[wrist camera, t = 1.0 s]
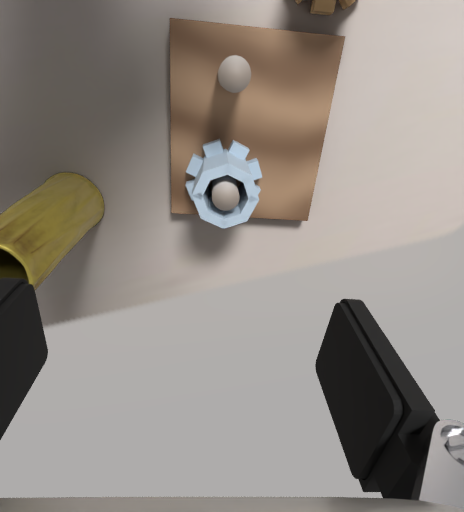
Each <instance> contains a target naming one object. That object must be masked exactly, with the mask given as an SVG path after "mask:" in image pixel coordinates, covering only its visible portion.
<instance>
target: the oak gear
mask: <svg viewBox="0 0 464 512" xmlns="http://www.w3.org/2000/svg"><path fill="white" fill-rule="evenodd" d="M295 1H296V3H297V4H299V3H300V2H301V1H302V0H295ZM338 1H339V3H340V5H341V6H342V8H343V10H344V9H346V8H348V7H349V6H350V5H351V4H353V3H354V2H355V1H356V0H338ZM335 3H336V0H312V4H311V10H310V13H312V14H321V15H331V14H332V13H334V9H335Z"/></svg>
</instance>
